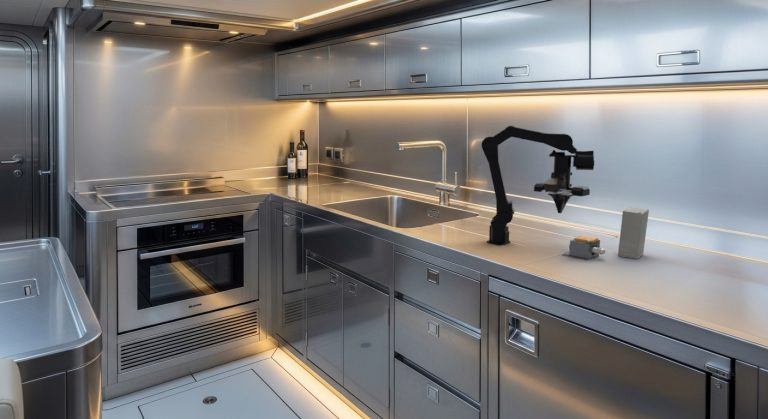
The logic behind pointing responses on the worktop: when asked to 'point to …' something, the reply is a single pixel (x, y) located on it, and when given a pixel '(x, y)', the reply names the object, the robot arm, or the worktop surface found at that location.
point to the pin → (596, 250)
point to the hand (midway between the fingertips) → (559, 213)
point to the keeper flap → (586, 239)
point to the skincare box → (633, 232)
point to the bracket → (582, 249)
